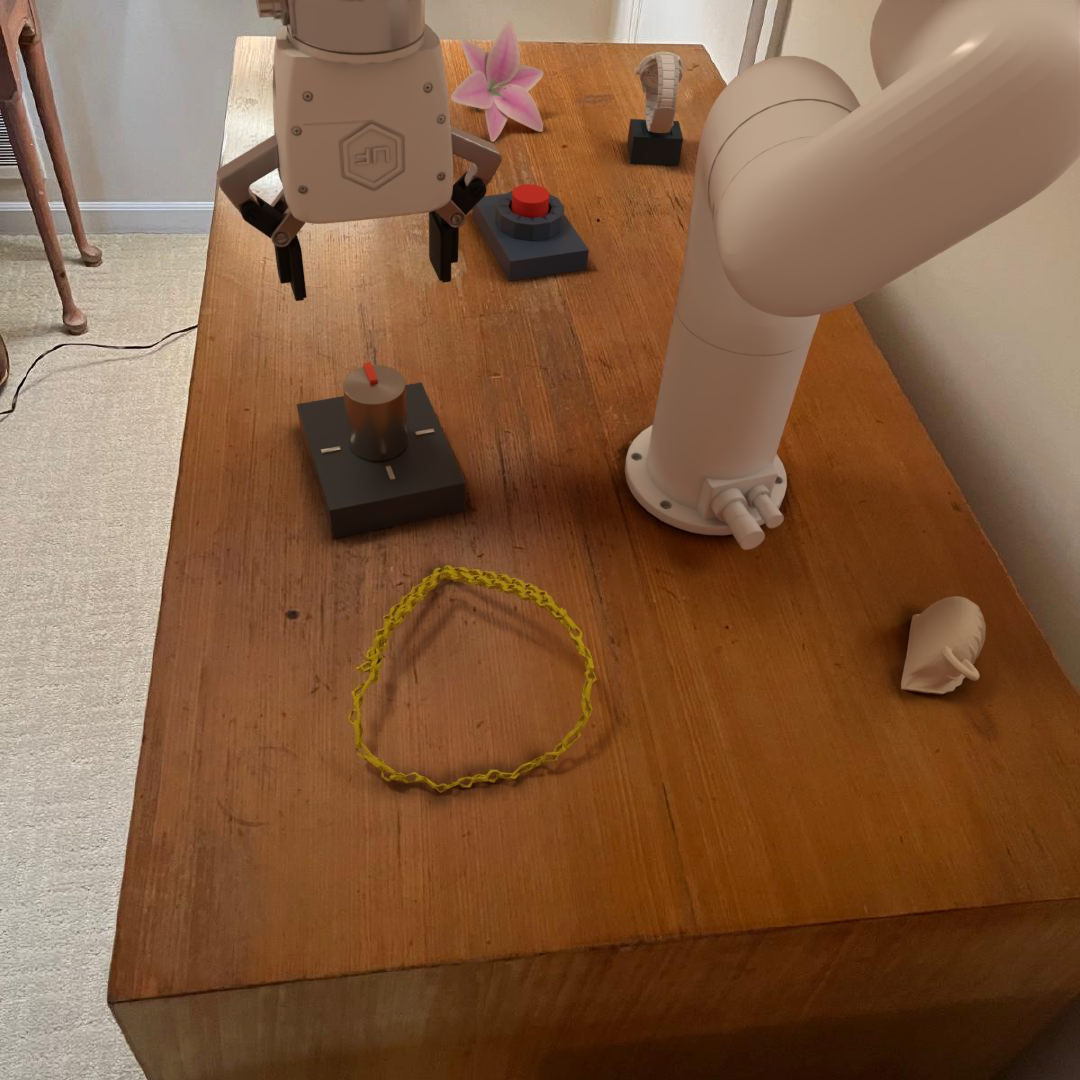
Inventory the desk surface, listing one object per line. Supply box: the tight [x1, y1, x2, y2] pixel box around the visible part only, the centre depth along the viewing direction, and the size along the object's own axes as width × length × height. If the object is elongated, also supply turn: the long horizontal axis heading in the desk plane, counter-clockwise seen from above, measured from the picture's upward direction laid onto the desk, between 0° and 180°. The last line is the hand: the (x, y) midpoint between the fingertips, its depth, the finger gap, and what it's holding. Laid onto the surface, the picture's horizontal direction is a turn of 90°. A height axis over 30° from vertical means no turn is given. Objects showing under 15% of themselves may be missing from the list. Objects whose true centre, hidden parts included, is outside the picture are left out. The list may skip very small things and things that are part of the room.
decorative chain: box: [347, 564, 598, 794], centre depth 64 cm, size 16×15×5 cm
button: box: [511, 183, 550, 218], centre depth 99 cm, size 4×4×2 cm
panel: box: [296, 382, 467, 539], centre depth 78 cm, size 12×10×3 cm
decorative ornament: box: [900, 595, 987, 695], centre depth 67 cm, size 4×8×5 cm, turn 158°
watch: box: [626, 51, 685, 167], centre depth 112 cm, size 6×8×11 cm
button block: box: [471, 188, 590, 282], centre depth 101 cm, size 12×8×4 cm, turn 20°
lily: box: [450, 20, 545, 143], centre depth 117 cm, size 12×12×10 cm
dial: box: [342, 361, 408, 461], centre depth 74 cm, size 4×4×6 cm
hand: (369, 279), depth 68 cm, fingers open, 9 cm apart
